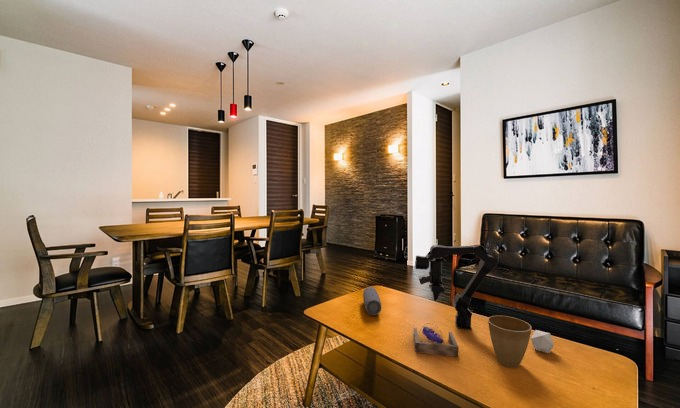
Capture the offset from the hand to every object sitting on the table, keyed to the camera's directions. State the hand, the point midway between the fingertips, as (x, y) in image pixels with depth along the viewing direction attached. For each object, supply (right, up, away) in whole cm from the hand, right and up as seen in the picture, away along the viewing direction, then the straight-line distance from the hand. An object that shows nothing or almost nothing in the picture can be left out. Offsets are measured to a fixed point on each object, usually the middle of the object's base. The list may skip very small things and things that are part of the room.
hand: (435, 300), depth 149 cm
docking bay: (-7, -13, -21) cm, 26 cm away
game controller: (-9, -13, -21) cm, 26 cm away
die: (+38, -14, -24) cm, 47 cm away
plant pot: (+18, -14, -33) cm, 40 cm away
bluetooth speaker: (-30, -11, +18) cm, 37 cm away
